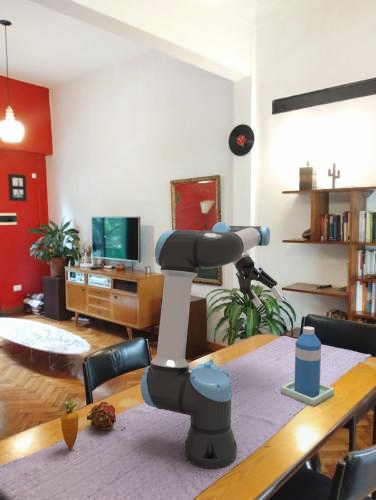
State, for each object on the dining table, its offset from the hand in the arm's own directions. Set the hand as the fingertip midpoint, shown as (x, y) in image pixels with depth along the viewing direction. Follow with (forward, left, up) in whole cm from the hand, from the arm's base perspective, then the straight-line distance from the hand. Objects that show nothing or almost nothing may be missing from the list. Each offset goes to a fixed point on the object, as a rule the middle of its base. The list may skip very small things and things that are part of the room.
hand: (270, 303), depth 152 cm
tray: (+7, -13, -34) cm, 37 cm away
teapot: (-20, +14, -34) cm, 42 cm away
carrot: (-76, +13, -34) cm, 85 cm away
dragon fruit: (-63, +18, -34) cm, 74 cm away
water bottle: (+6, -13, -33) cm, 36 cm away
